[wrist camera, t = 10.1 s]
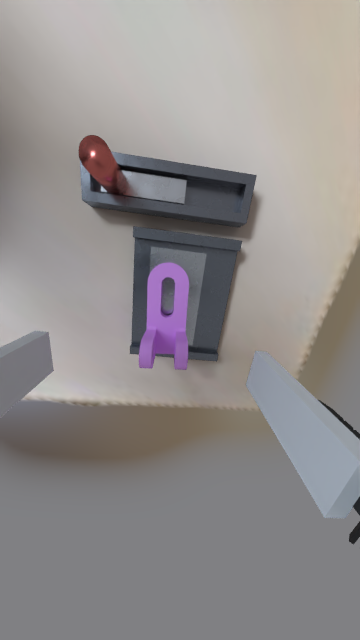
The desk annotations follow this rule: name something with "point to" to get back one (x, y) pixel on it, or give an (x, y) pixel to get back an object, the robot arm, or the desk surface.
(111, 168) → the lever
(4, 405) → the robot arm
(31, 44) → the desk surface
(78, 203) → the desk surface
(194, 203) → the frame
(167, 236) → the press bed
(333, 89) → the desk surface
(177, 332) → the bracket
